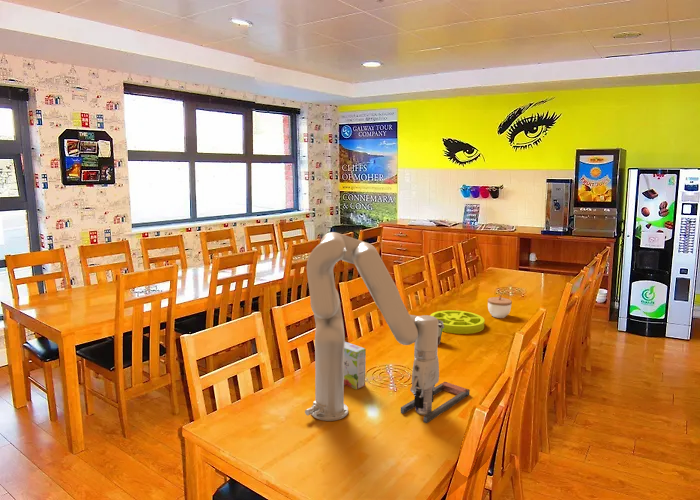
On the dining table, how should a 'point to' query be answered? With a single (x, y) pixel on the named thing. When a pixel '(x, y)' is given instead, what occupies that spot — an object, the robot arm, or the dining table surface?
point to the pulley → (460, 321)
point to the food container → (440, 330)
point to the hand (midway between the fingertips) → (423, 403)
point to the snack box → (354, 366)
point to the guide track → (448, 387)
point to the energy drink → (426, 402)
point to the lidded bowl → (499, 307)
